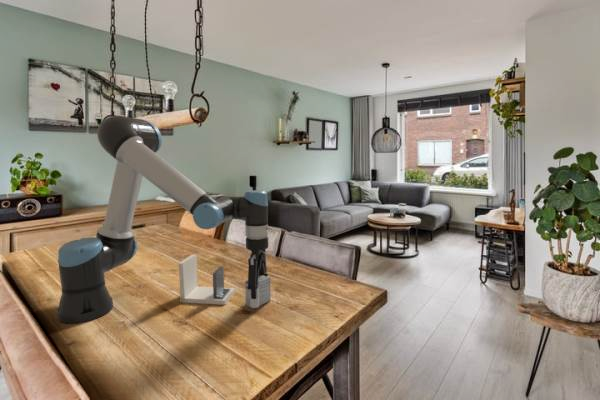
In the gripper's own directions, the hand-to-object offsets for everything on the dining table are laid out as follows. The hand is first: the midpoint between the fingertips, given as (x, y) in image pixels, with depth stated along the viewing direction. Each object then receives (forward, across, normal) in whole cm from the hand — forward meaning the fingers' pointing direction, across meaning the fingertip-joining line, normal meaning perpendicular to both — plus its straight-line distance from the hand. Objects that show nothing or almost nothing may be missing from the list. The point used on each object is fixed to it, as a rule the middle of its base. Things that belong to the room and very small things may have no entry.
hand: (258, 300), depth 111 cm
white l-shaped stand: (+1, +3, +19) cm, 19 cm away
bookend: (-1, +2, +14) cm, 14 cm away
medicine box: (+1, 0, 0) cm, 1 cm away
